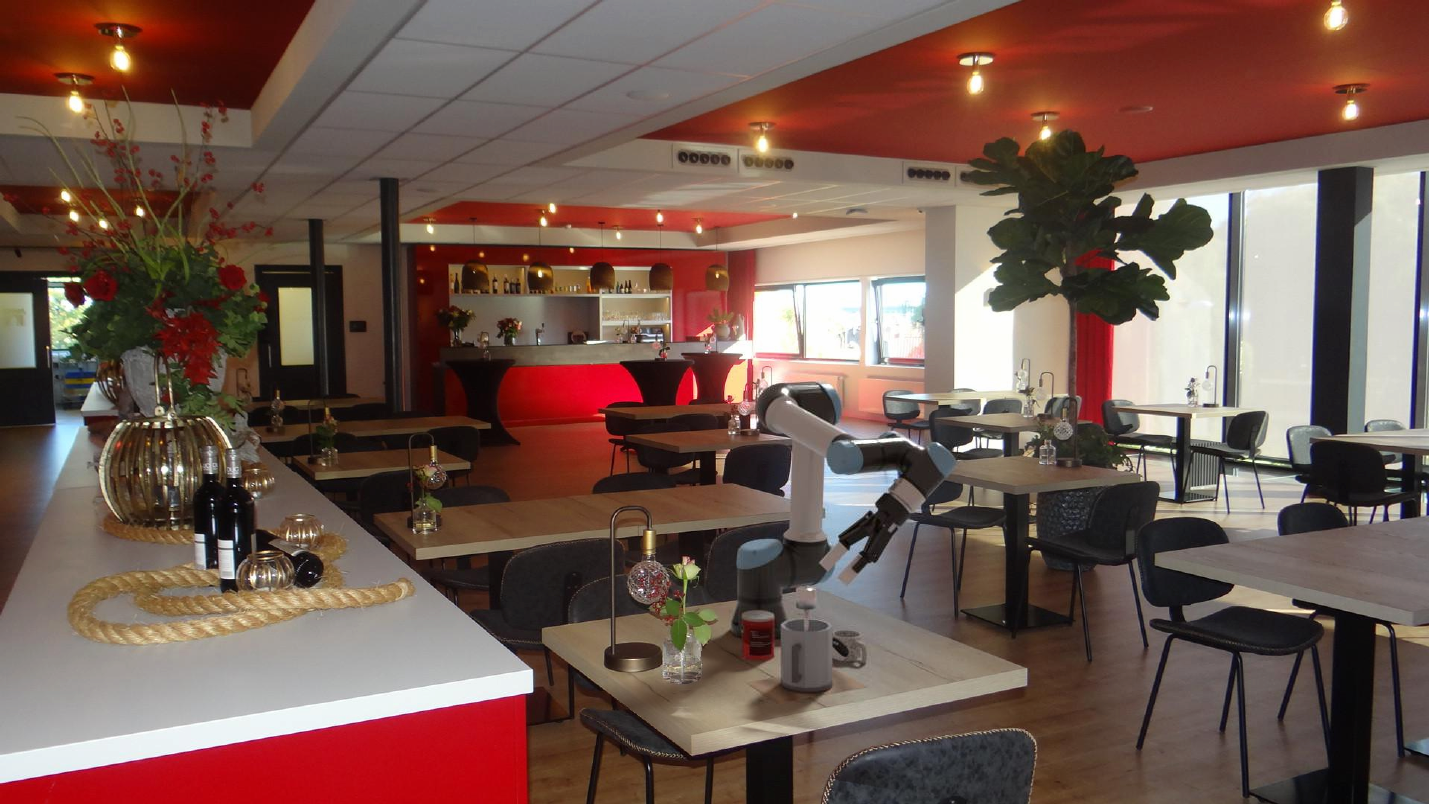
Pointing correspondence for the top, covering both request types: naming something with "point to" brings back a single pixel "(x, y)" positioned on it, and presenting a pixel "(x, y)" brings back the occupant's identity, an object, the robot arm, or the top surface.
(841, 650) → the mug
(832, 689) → the serving board
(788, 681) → the grey cup
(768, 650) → the canned food
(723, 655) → the top surface
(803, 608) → the plunger
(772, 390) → the robot arm
